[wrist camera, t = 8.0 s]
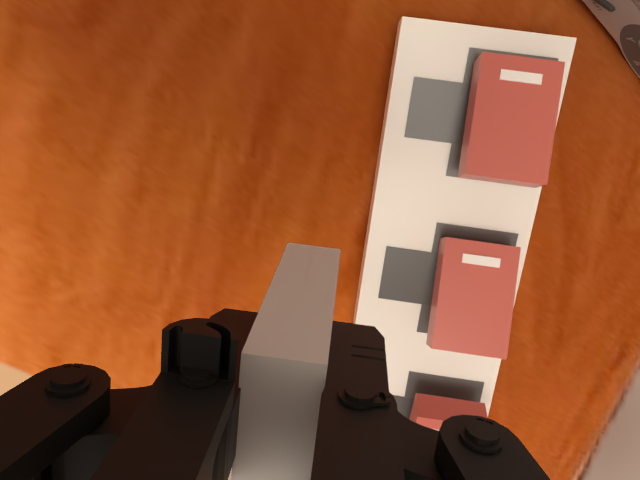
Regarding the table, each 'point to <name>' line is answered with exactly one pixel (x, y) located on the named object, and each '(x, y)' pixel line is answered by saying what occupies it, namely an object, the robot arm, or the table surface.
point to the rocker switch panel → (437, 201)
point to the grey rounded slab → (621, 26)
